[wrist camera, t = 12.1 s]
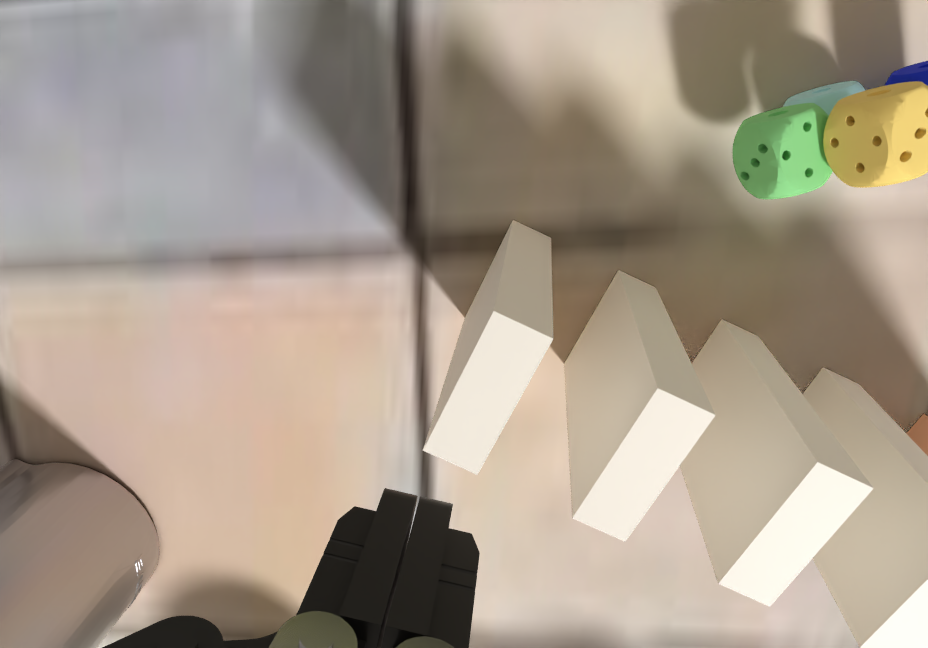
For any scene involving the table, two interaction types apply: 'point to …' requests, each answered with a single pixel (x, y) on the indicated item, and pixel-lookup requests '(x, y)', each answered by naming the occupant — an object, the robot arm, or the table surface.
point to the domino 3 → (764, 469)
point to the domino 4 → (877, 521)
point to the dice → (837, 137)
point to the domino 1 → (495, 350)
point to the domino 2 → (628, 407)
